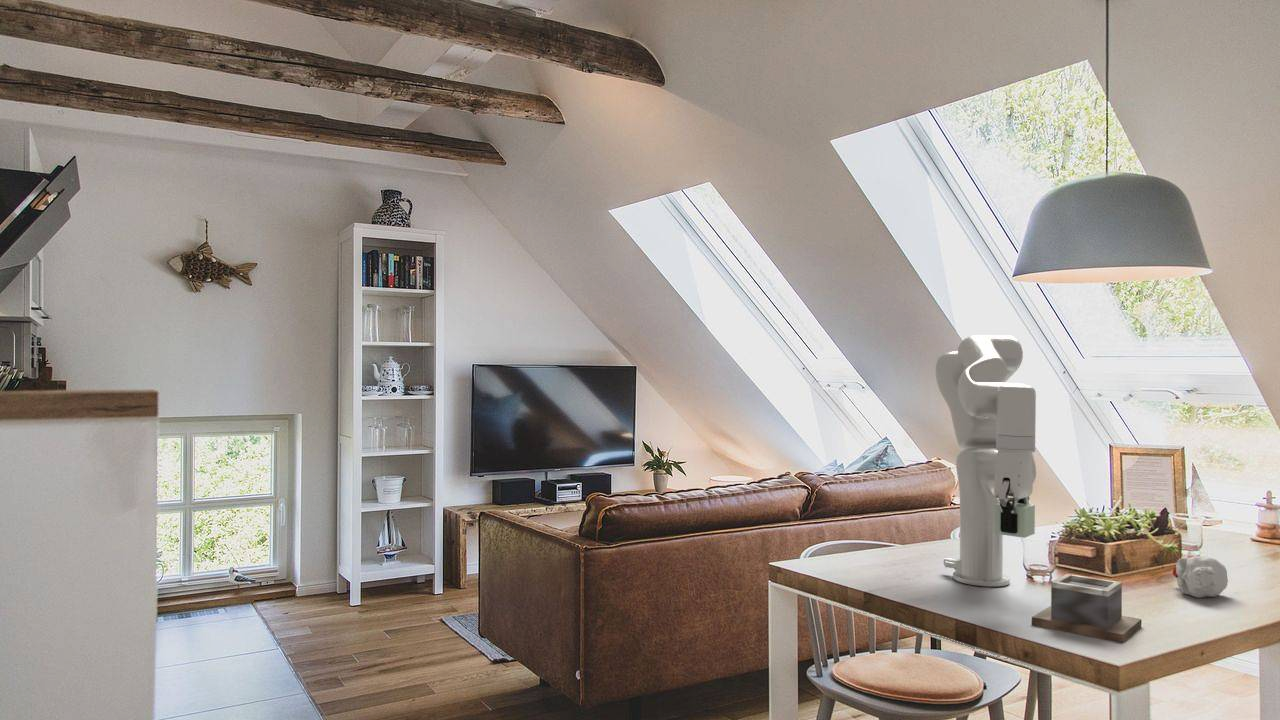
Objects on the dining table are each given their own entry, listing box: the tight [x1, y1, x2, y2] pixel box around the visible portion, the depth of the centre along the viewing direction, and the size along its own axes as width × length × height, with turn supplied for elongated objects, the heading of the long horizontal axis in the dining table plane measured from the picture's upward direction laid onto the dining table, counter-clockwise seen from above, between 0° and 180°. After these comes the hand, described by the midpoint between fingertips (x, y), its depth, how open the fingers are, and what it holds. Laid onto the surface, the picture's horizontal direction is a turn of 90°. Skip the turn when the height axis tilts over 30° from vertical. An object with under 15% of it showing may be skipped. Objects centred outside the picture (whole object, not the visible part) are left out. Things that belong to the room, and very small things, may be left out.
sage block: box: [995, 502, 1036, 539], centre depth 179 cm, size 6×6×6 cm
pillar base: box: [1031, 573, 1142, 644], centre depth 168 cm, size 16×14×8 cm
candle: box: [1172, 555, 1229, 599], centre depth 195 cm, size 9×11×15 cm
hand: (1014, 529), depth 179 cm, fingers closed on sage block, 6 cm apart
